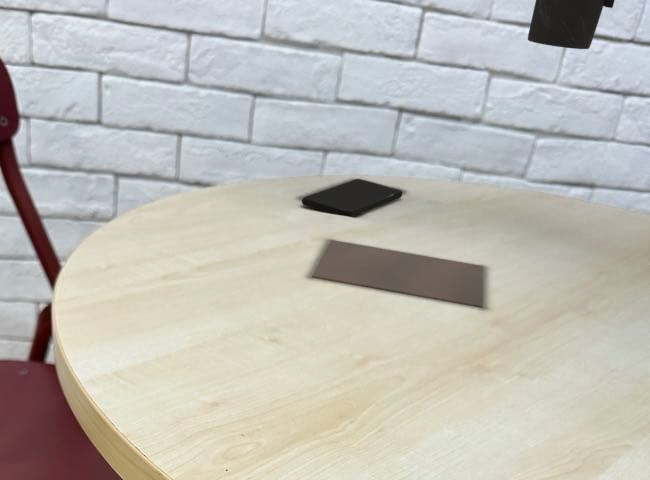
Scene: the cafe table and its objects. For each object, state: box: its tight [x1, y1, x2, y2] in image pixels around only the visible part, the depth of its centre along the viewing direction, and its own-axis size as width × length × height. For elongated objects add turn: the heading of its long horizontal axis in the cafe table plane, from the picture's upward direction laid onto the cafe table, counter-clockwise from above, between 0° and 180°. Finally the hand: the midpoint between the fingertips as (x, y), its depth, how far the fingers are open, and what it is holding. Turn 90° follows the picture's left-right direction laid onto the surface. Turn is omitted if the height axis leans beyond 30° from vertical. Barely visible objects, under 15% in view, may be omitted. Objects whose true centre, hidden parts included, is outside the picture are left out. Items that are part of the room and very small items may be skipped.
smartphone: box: [301, 178, 403, 218], centre depth 105 cm, size 7×1×15 cm
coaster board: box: [311, 239, 485, 309], centre depth 83 cm, size 16×12×1 cm
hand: (569, 1), depth 95 cm, fingers closed on travel mug, 8 cm apart
